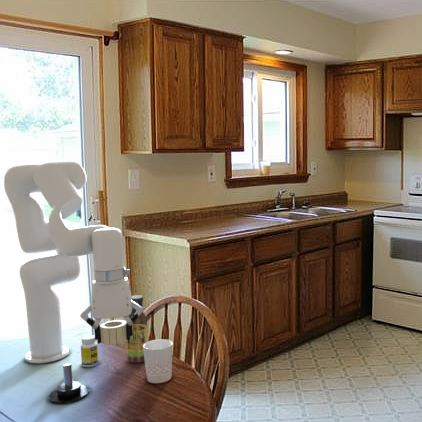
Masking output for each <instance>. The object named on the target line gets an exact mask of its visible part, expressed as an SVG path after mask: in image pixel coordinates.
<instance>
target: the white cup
mask: <svg viewBox="0 0 422 422" xmlns="http://www.w3.org/2000/svg"><path fill="white" fill-rule="evenodd" d="M143 351H144V361H143V362H144V367H145V372H146V374H145V375H146V380H147V382H149V384H163V383H166V382H169V381H170V380H171V379H172V378H173V369H172V368H173V342H172V340H170V339H165V338H158V339H152V340H148V342H146V343H145V344H144V345H143Z"/></svg>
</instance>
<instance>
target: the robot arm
mask: <svg viewBox="0 0 422 422" xmlns="http://www.w3.org/2000/svg"><path fill="white" fill-rule="evenodd" d="M87 178H88V177H87V173H86V171H85V168H84V167H83V166H82V165H81V164H80V163H78V162H75V161H59V162H46V163H42V164H23V165H16V166H12V167H10V168H8V169H7V170H6V171H5V172H4V175H3V179H2V184H3V185H2V186H3V189H4V190H3V191H4V194H5V196H6V198H7V199H6V200H7V201H8V203H9V204H10V206H11V209H12V211H13V217H14V221H15V228H16V233H17V237H18V242H19V245H20V248H21V250H22V251H23V253H26V254H40V253H45V252H50V251H55V252H56V253H55V254H49V255H43V256H38V257H33V258H29V259H28V260H26V261H24V262H22V264H21V266H20V268H19V277H20V281H21V284H22V288H23V292H24V298H25V309H26V318H27V331H28V343H29V351H28V352H27V353H26V354H25V355H24V359H25V361H26V362H27V363H29V364H48V363H53V362H56V361H58V360H61V359H64V358H65V357H67V356H68V355H69V353H70V349H69V347H68V346H66V345H64V340H63V325H62V313H61V301H60V297H59V296H58V294H57V293H56V292H54V291H53V289H52V288H51V287H55V286H58V285H61V284H67V283H70V282H73V281H75V280H77V279H78V278H79V277H80V274H81V264H80V259H79V257H81V256H86V255H92V258H93V271H94V279H93V280H92V282H91V283H92V284H91V299H90V300H91V301H90V305H88V307H87V308H86V309H84V311H82V312H81V314H80V316H79V317H80V318H81V319H82V320H83V321H85V322H86V324H88V325H89V326H90V327H91V328H92V329H93V330H94V336H95V340H96V341H97V345H98V344H102V343H101V337H100V325H101V324H100V323H101V321H102V320H105V319H107V320H108V319H117V318H123V319H124V321H126V322H127V326H126V330H127V340H130V336H133V330H132V324H133V323H134V322H135V321H136V319H137V318H138V317H139V316H140V314H141V313H142V312H144V306H143V307H141V306H140V305H138V304H137V303H136V302H134V301H133V300H132V297H131V296H132V291H131V284H130V279H129V278H128V276H127V275H131V269H130V268H126V267H125V258H124V244H123V243H124V242H123V233H122V231H121V229H119V228H117V227H109V226H107V225H105V224H96V225H95V224H94V225H87V226H81V227H74V228H72V226H71V224H70V223H69V222H67V220H65V219H68V218H69V217H70V216H72V215H74V214H75V213H76V212H77V211H79V209H80V208H81V206H82V205H83V198H82V195H81V193H80V192H79V191H78V190H81V189H83V188H84V187H85V186H86V184H87V181H88V180H87ZM33 193H41V195H42V196H43V198H44V199H45V201H46V203H47V204H48V205H49V207H50V209H51V211H50V213H49V217H48V219H47V218H46V214H45V208H44V206H43V204H42V203H41V202H40V200H39V199H38V198H37V197H36V196H34V195H33ZM132 307H133V308H134V309H136V310H137V311H136V313H135V314H134V315H133V316H132V317H131V316H130V314H131V312H132ZM90 313H91V316H92V317H91V316H89V314H90ZM127 340H126V341H127Z"/></svg>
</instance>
